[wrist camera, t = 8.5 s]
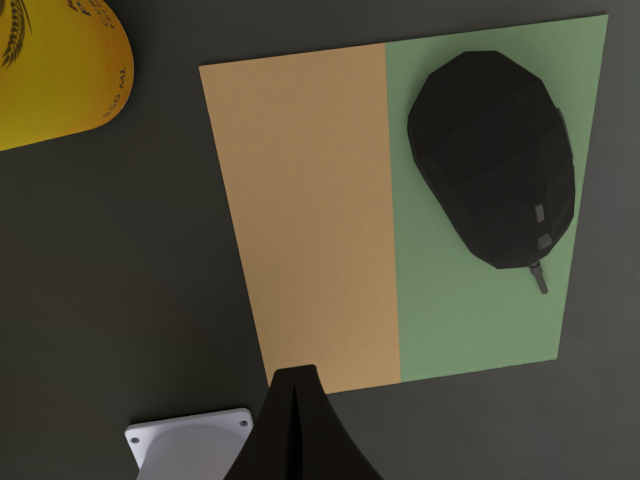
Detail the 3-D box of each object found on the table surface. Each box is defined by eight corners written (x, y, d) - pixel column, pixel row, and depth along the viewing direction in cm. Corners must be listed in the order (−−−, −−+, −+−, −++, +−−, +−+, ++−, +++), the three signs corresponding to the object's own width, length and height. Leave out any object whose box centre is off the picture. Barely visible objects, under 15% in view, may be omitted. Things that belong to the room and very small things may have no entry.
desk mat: (555, 357, 26) (557, 358, 25) (272, 400, 25) (272, 402, 25) (606, 15, 18) (608, 14, 18) (199, 66, 17) (198, 66, 17)
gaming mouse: (495, 316, 24) (534, 358, 20) (380, 102, 18) (403, 107, 15) (591, 263, 23) (650, 298, 19) (499, 23, 18) (555, 7, 14)
